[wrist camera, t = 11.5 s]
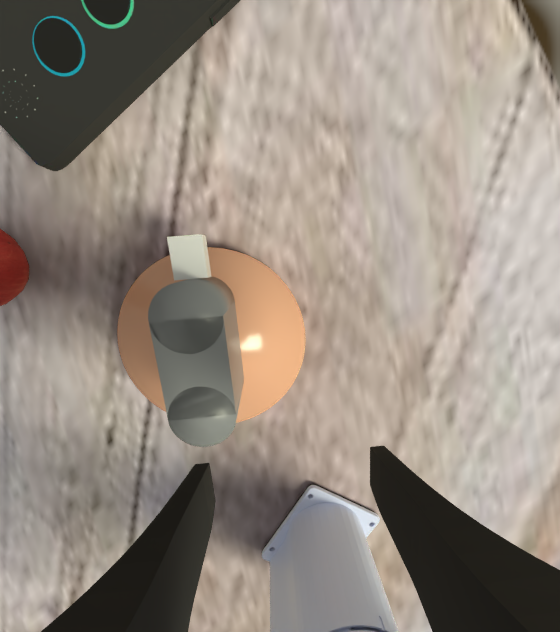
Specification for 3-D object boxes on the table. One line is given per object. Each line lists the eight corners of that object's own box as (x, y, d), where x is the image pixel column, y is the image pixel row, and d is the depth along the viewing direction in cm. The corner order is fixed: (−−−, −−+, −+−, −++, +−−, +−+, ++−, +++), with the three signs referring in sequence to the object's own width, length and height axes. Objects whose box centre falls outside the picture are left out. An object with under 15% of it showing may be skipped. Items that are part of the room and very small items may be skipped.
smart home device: (-75, 46, 15) (185, -246, 13) (-39, 68, 17) (195, -187, 14) (42, 172, 16) (288, -69, 14) (63, 180, 18) (286, -34, 16)
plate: (250, 441, 23) (249, 451, 22) (97, 368, 21) (87, 375, 20) (336, 307, 21) (340, 310, 19) (174, 210, 18) (168, 207, 17)
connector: (246, 399, 21) (239, 443, 16) (196, 404, 21) (173, 449, 16) (227, 236, 18) (211, 228, 13) (168, 241, 18) (131, 235, 13)
